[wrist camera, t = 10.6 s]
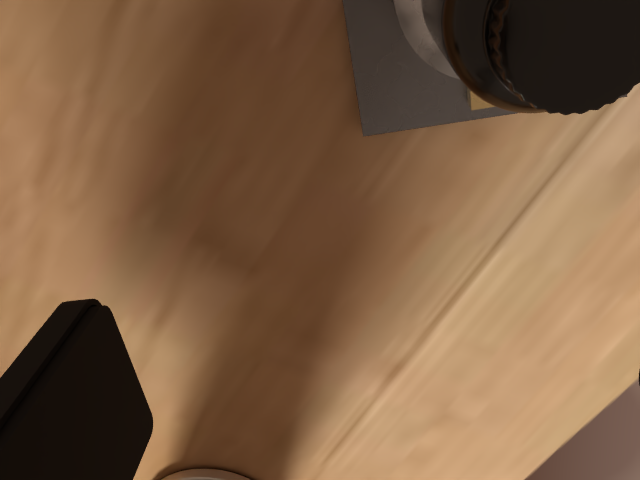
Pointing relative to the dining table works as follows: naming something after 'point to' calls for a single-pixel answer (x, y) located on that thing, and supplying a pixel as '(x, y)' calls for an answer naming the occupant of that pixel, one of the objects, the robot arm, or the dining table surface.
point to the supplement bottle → (540, 50)
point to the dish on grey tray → (404, 71)
